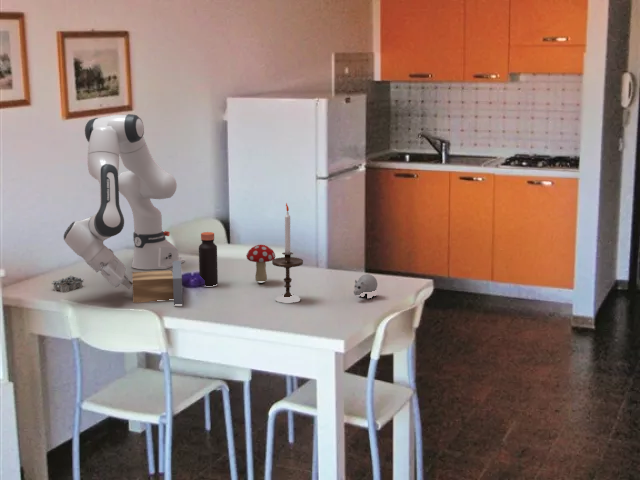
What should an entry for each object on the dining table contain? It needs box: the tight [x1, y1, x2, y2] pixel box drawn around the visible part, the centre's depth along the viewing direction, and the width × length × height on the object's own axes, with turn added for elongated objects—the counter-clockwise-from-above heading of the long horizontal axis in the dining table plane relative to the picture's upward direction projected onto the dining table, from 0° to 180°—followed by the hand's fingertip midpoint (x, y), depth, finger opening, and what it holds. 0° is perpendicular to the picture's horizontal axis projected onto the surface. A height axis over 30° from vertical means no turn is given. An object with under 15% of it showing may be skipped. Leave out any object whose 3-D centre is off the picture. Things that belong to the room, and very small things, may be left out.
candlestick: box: [271, 202, 304, 297], centre depth 313 cm, size 11×11×35 cm
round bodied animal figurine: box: [353, 273, 378, 296], centre depth 319 cm, size 7×12×8 cm, turn 143°
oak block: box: [131, 269, 174, 304], centre depth 319 cm, size 12×14×8 cm
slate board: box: [172, 261, 184, 306], centre depth 320 cm, size 26×3×10 cm, turn 9°
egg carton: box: [51, 275, 85, 293], centre depth 331 cm, size 11×8×4 cm
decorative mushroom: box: [245, 244, 276, 282], centre depth 338 cm, size 11×11×15 cm
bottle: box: [198, 231, 219, 286], centre depth 334 cm, size 7×7×20 cm
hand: (130, 286), depth 318 cm, fingers closed
